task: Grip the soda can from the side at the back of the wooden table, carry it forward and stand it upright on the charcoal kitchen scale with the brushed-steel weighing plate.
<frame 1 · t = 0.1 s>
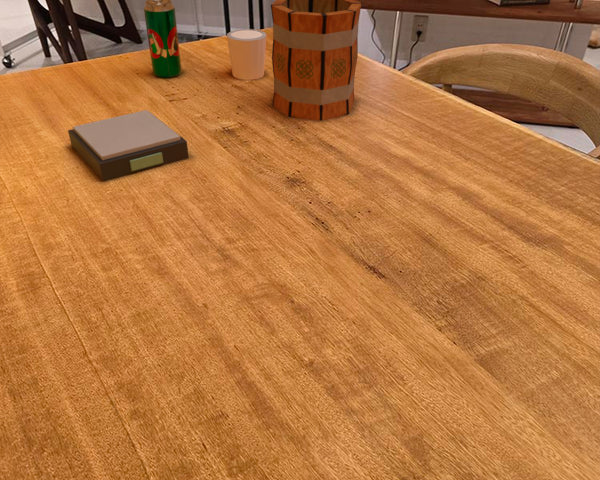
soda can: (167, 75, 106), on the table
white cup: (248, 76, 106), on the table
scale: (129, 153, 81), on the table
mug: (310, 99, 98), on the table
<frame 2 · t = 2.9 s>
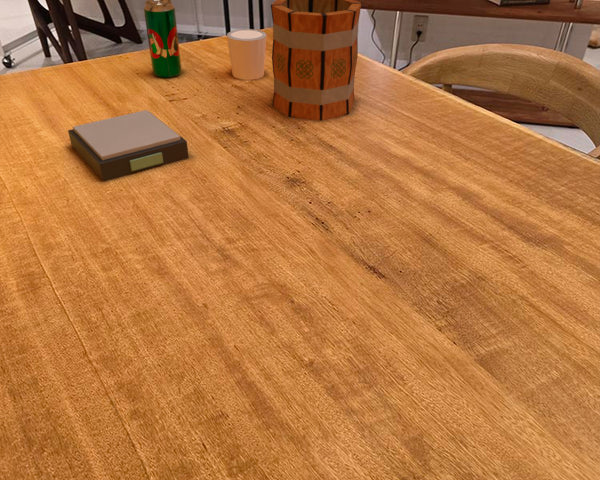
nothing on the table moved.
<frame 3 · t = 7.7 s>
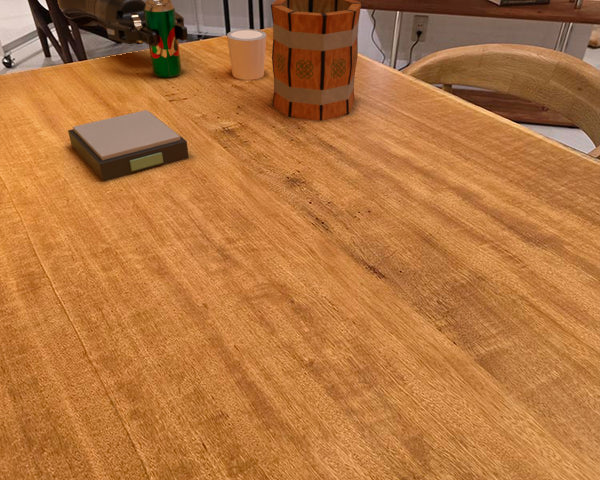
hand: (170, 36, 100), 7 cm above the table, tool horizontal, fingers closed on soda can, 5 cm apart
soda can: (167, 75, 106), on the table, touching gripper
everything else where it was.
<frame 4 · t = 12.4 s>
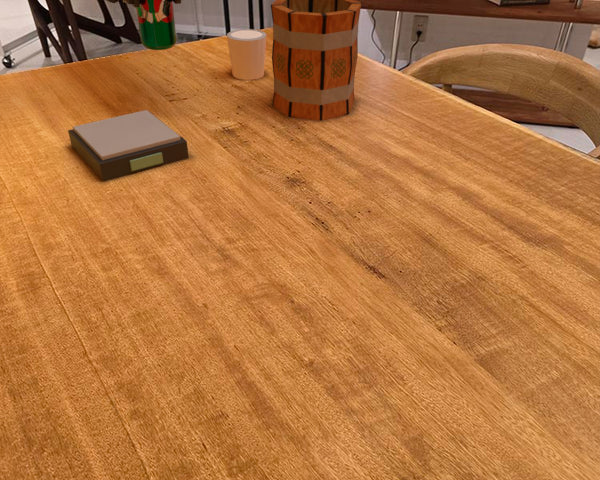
soda can: (159, 47, 86), point 10 cm above the table, touching gripper
everything else where it was.
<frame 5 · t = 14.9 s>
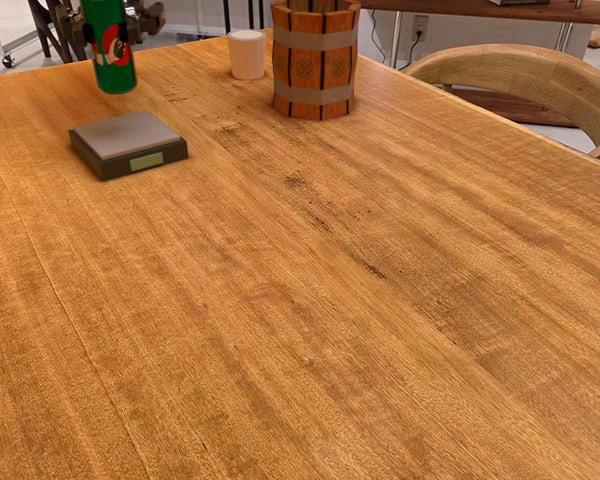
hand: (106, 37, 69), 16 cm above the table, tool horizontal, fingers closed on soda can, 5 cm apart
soda can: (118, 90, 76), point 9 cm above the table, touching gripper
everything else where it was.
when the fingers open (10 cm above the table, at t = 17.0 s): soda can stays where it is, resting on scale.
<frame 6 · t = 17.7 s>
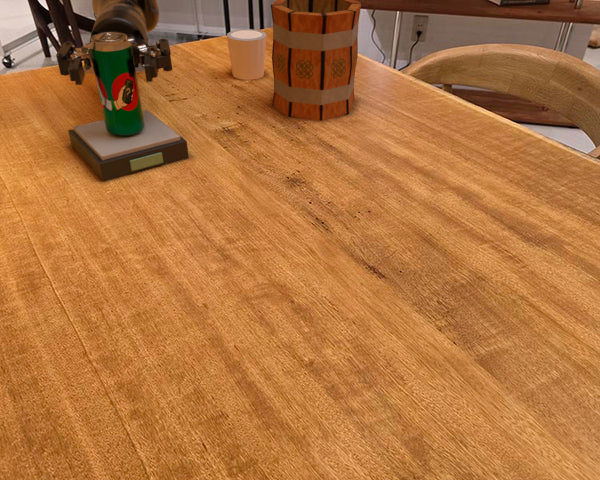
hand: (113, 75, 73), 11 cm above the table, tool horizontal, fingers open, 8 cm apart
soda can: (126, 132, 79), point 3 cm above the table, touching scale
everything else where it was.
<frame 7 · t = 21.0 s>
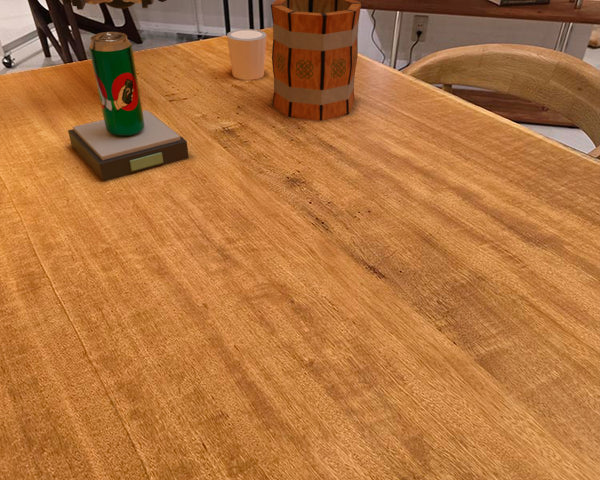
hand: (111, 0, 79), 17 cm above the table, tool horizontal, fingers open, 8 cm apart
nothing on the table moved.
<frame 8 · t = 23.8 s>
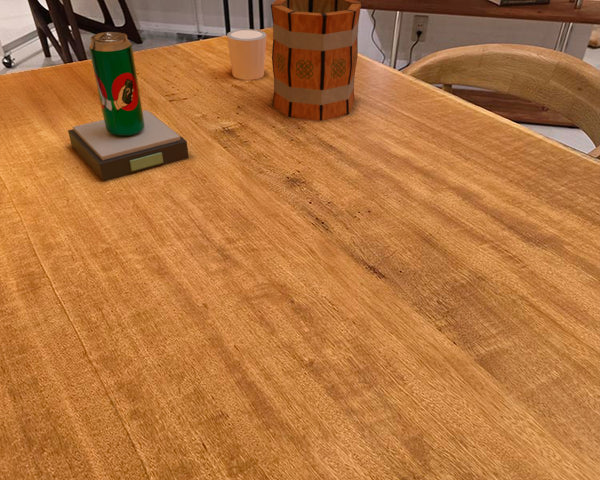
nothing on the table moved.
at the end: soda can inside the target area on the scale (0.1 cm from its centre), point 3.0 cm above the scale's base; soda can tilted 0°; the gripper is holding nothing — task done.
